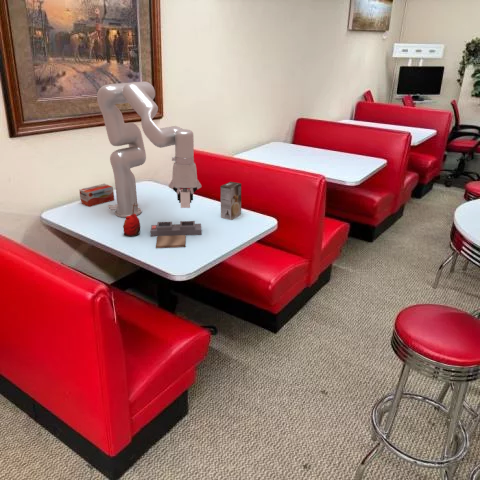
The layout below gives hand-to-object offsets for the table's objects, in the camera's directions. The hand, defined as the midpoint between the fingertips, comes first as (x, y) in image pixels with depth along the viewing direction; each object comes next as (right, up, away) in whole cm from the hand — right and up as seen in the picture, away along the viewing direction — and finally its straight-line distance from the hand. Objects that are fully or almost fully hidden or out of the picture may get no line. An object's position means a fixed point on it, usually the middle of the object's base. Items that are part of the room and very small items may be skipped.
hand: (185, 201), depth 187 cm
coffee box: (+19, -5, +24) cm, 31 cm away
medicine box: (-51, +3, +41) cm, 65 cm away
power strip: (-5, -13, +5) cm, 15 cm away
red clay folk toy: (-23, -14, +3) cm, 28 cm away
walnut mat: (-5, -18, -5) cm, 19 cm away
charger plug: (0, -2, +1) cm, 2 cm away
